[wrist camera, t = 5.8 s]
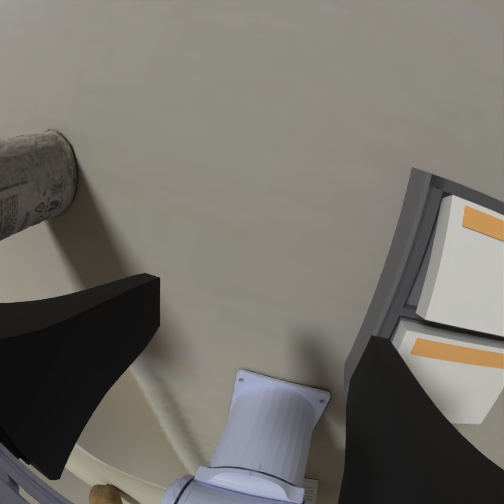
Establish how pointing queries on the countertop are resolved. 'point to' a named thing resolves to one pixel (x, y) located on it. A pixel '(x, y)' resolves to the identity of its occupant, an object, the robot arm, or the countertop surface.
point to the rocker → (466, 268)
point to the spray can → (34, 180)
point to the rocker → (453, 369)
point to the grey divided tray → (412, 263)
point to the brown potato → (104, 495)
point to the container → (310, 489)
